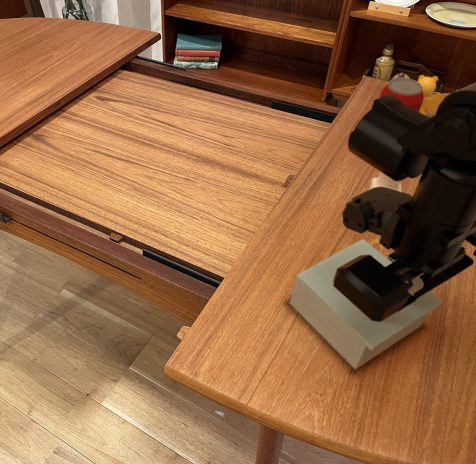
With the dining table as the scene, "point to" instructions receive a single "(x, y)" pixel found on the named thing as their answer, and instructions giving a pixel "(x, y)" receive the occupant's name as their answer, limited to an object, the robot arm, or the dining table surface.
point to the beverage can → (405, 92)
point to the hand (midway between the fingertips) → (394, 307)
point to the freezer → (339, 328)
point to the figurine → (428, 89)
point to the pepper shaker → (385, 182)
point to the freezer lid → (356, 321)
